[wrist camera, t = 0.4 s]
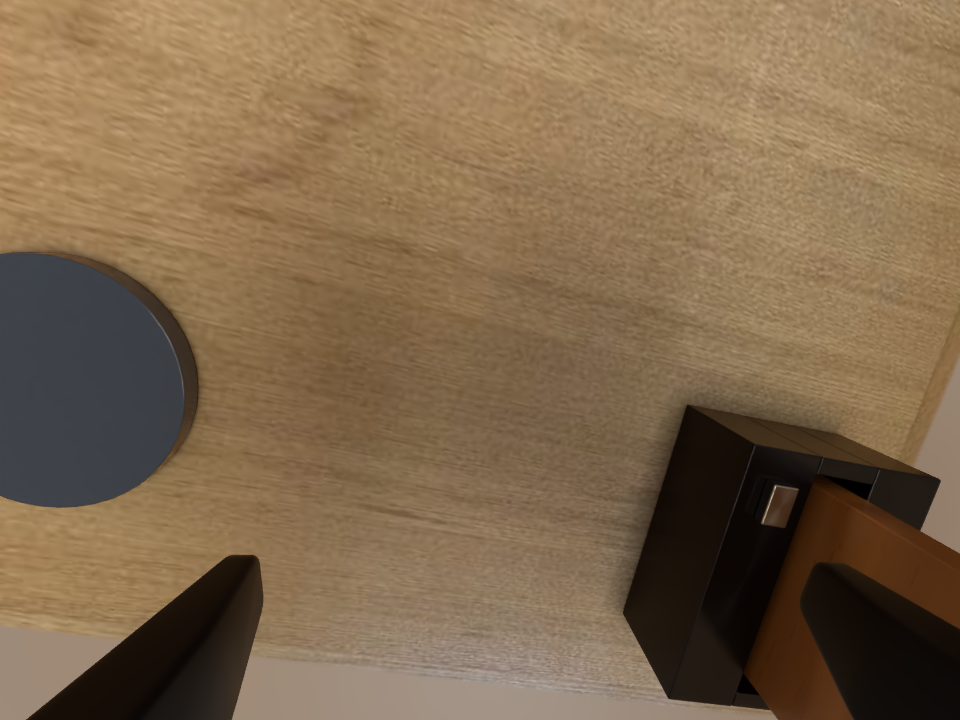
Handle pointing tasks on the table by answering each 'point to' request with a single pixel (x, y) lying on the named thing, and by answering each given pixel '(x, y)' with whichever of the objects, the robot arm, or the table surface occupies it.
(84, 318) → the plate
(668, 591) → the slotted dark tray
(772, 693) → the brown wooden flat block
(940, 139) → the table surface
